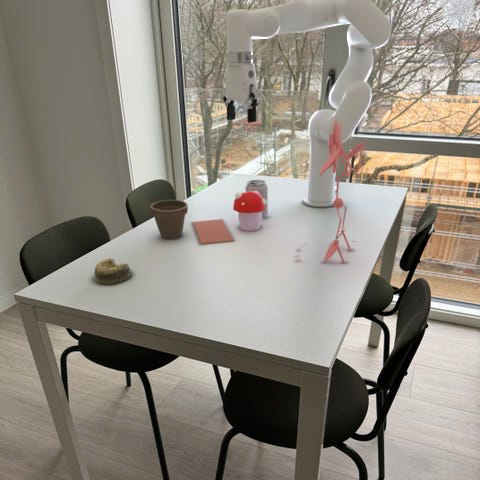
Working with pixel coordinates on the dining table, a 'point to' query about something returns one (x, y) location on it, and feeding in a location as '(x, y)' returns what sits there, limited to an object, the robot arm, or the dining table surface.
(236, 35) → the robot arm
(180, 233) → the flower pot
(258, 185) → the can
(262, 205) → the mushroom
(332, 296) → the dining table surface
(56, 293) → the dining table surface
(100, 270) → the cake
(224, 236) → the napkin
